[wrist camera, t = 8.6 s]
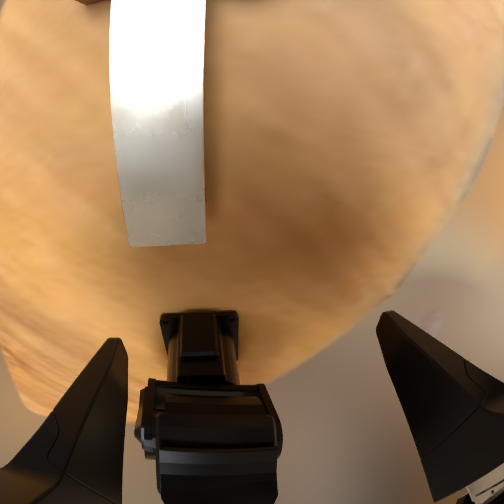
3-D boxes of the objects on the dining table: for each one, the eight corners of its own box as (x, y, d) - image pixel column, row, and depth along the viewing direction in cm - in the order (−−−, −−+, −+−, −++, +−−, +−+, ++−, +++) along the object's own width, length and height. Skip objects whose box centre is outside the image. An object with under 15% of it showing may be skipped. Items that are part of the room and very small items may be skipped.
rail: (206, 202, 20) (207, 244, 15) (144, 206, 19) (128, 248, 15) (209, -42, 11) (212, -77, 7) (138, -36, 10) (117, -66, 6)
